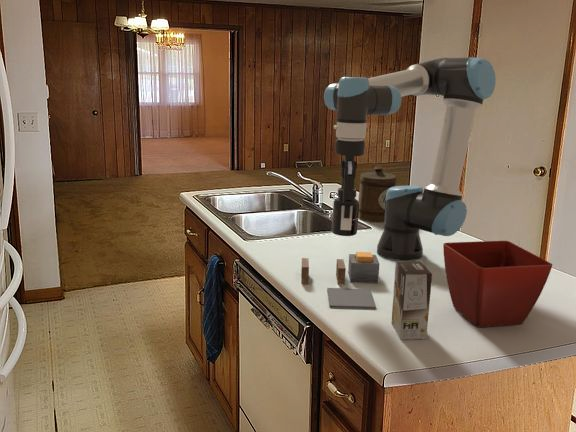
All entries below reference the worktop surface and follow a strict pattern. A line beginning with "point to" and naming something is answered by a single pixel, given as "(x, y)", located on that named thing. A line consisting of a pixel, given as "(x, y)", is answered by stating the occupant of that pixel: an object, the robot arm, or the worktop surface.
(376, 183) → the wooden container
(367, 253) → the plunger
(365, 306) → the mat
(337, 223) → the supplement bottle
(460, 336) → the worktop surface
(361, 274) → the plunger housing
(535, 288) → the plant pot
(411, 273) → the coffee box
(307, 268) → the block
